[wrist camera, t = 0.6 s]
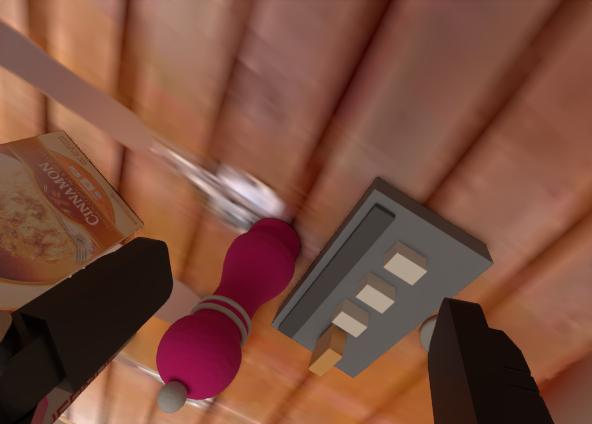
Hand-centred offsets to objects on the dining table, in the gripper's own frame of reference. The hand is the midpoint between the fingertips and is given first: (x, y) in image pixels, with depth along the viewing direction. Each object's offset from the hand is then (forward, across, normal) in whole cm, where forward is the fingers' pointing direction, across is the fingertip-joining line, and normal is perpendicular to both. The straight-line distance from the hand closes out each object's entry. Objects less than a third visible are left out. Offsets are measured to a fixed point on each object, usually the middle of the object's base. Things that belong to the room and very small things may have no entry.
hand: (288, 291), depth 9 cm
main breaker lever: (+20, 0, +21) cm, 29 cm away
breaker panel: (+23, -2, +16) cm, 28 cm away
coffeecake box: (+23, +34, +10) cm, 42 cm away
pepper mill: (+23, +8, +12) cm, 28 cm away
